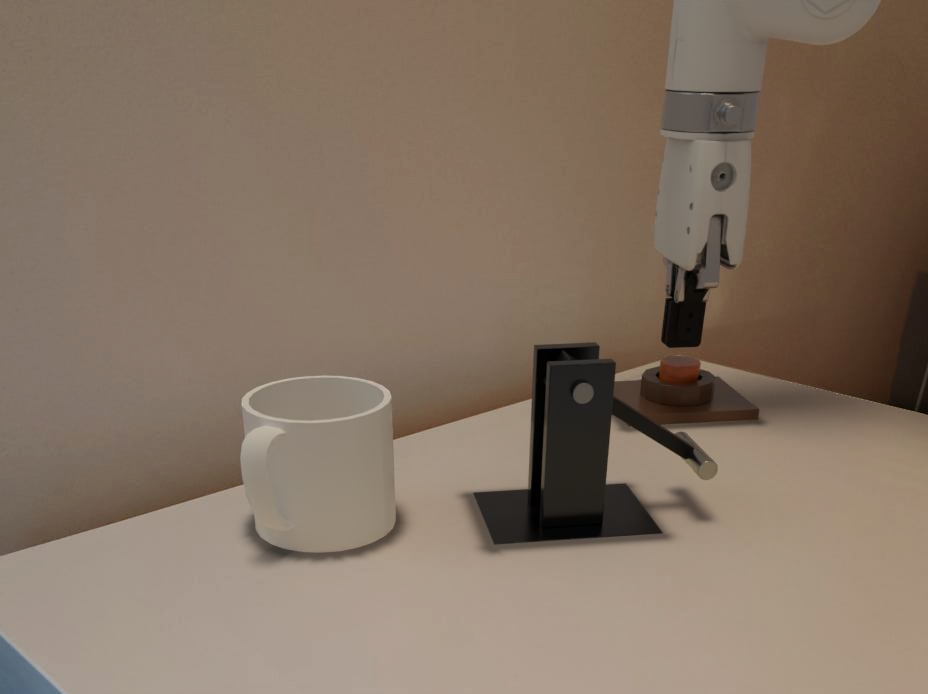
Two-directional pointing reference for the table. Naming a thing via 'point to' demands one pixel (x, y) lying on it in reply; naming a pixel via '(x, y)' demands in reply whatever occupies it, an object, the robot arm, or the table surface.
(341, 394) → the mug
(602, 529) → the bracket
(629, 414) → the lever
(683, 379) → the button
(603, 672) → the table surface
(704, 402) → the button box
